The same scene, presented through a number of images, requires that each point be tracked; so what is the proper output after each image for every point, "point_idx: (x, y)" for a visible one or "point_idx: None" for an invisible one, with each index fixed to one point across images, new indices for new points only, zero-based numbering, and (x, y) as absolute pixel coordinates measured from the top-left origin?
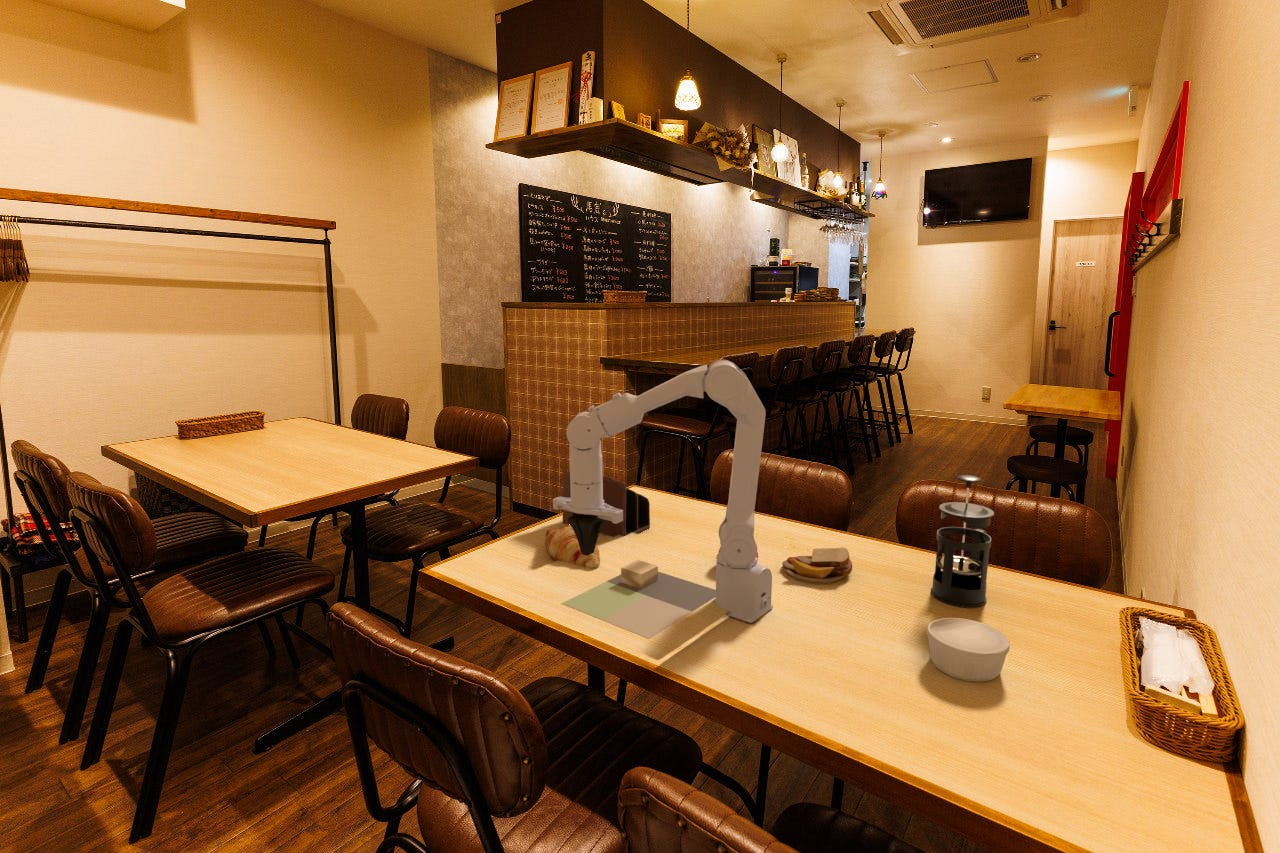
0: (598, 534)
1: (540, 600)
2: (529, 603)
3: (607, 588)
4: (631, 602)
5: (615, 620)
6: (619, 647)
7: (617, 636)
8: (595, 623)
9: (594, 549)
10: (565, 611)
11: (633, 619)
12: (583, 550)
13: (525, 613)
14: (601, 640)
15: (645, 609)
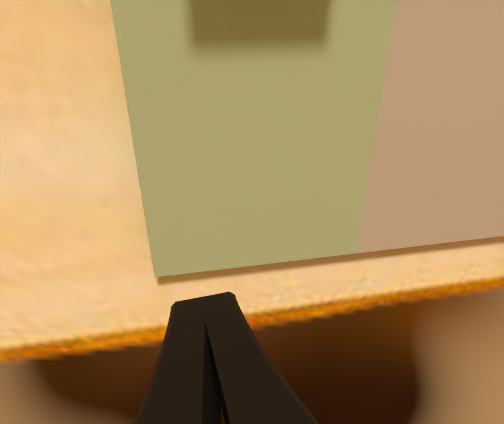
0: (311, 417)
1: (36, 278)
2: (33, 313)
3: (185, 50)
4: (372, 90)
5: (393, 228)
6: (448, 279)
7: (418, 251)
8: None
9: (238, 307)
10: None
11: (443, 186)
12: (219, 398)
13: (97, 348)
14: (391, 289)
15: (451, 99)
